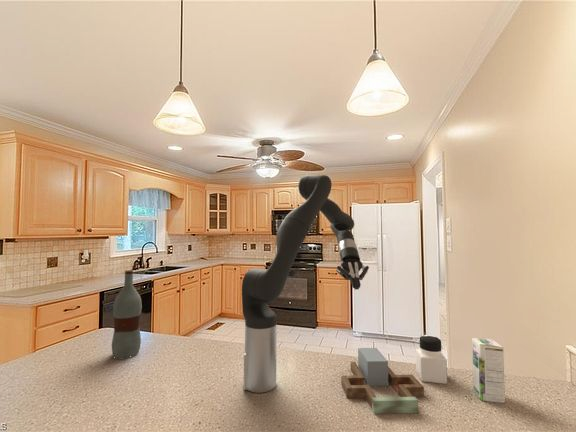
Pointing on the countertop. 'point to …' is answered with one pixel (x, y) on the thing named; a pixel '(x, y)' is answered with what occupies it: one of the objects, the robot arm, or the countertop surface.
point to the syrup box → (488, 370)
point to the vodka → (127, 320)
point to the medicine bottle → (431, 360)
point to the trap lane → (405, 403)
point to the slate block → (373, 366)
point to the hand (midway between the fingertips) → (357, 288)
